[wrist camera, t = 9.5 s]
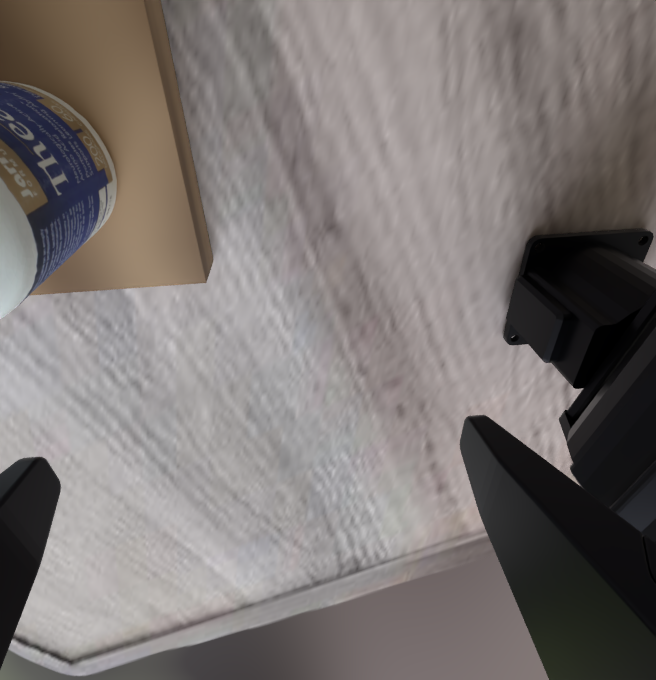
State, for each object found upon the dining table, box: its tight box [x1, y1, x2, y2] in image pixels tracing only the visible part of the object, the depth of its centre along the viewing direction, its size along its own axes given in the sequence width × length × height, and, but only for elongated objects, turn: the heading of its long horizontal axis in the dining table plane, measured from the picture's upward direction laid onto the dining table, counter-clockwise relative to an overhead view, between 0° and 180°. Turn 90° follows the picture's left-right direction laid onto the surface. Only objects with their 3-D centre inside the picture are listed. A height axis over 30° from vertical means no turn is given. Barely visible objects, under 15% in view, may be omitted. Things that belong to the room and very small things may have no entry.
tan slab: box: [0, 0, 213, 295], centre depth 16 cm, size 10×10×2 cm
